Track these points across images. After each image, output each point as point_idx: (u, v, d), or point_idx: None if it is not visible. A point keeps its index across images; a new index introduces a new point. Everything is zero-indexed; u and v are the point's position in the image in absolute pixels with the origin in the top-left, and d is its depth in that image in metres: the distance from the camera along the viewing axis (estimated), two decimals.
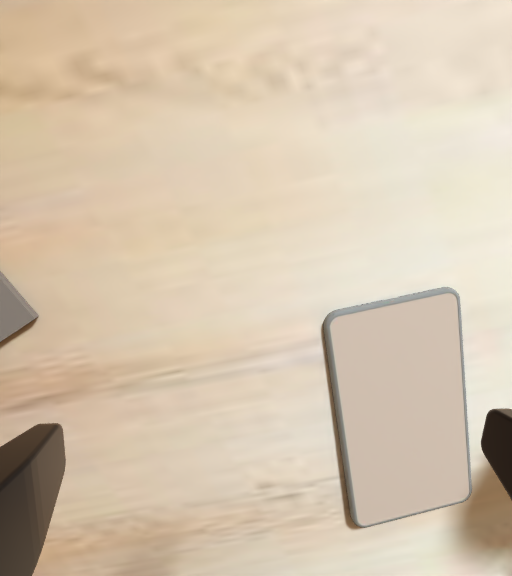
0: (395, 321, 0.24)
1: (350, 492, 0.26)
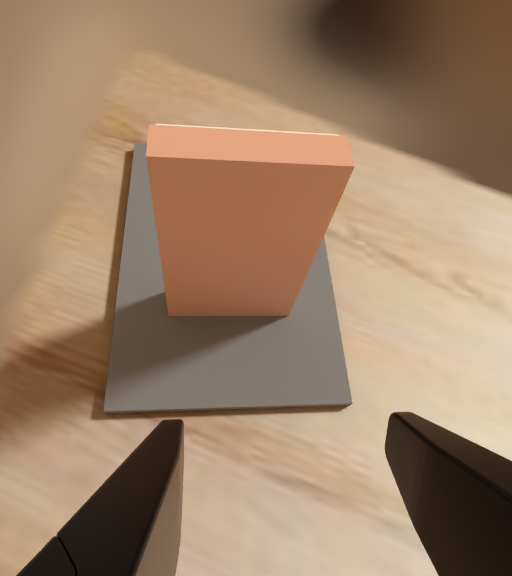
0: None
1: None
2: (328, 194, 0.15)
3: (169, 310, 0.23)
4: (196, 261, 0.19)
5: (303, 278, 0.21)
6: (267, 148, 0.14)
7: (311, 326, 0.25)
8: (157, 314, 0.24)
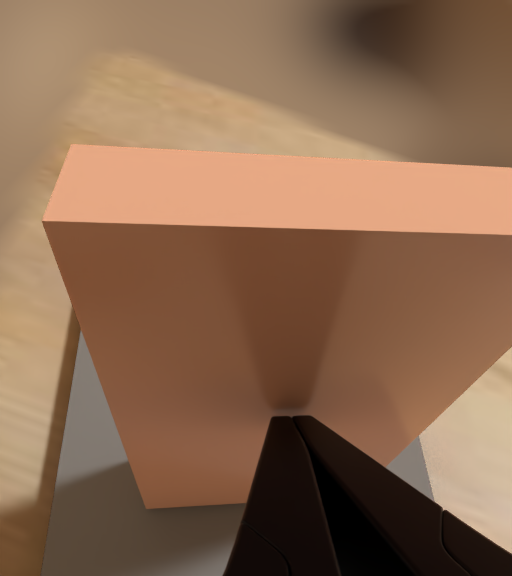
0: None
1: None
2: None
3: (147, 502, 0.13)
4: (196, 438, 0.09)
5: (399, 451, 0.11)
6: (386, 197, 0.05)
7: None
8: (127, 507, 0.14)
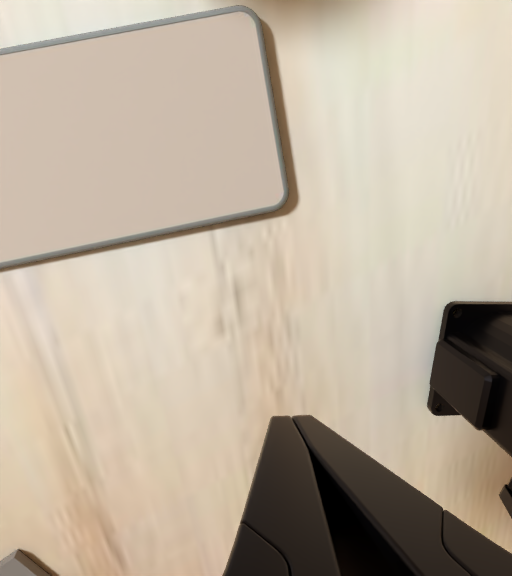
0: None
1: (227, 219, 0.19)
2: None
3: None
4: None
5: None
6: None
7: None
8: None
